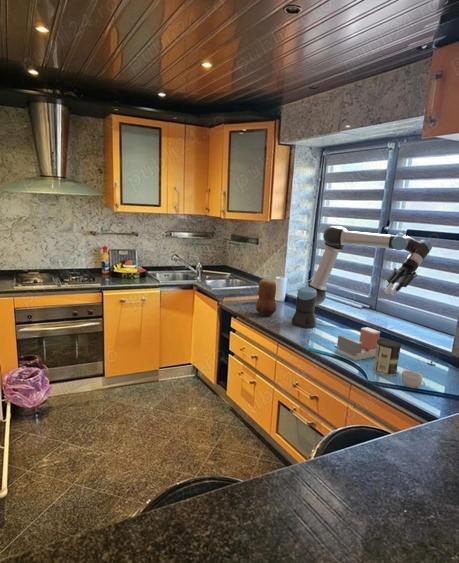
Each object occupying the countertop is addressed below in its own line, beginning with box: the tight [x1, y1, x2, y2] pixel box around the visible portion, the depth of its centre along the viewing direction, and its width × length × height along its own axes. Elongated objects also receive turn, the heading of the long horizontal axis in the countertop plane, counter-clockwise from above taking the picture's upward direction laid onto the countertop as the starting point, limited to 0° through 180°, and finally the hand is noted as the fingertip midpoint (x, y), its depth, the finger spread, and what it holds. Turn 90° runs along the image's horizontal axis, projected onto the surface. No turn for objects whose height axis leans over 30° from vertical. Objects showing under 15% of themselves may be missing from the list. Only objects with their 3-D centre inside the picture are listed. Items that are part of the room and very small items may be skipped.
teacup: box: [401, 369, 426, 389], centre depth 160 cm, size 10×8×5 cm
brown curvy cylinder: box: [255, 278, 277, 317], centre depth 255 cm, size 14×13×25 cm
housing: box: [336, 334, 376, 361], centre depth 197 cm, size 22×13×8 cm, turn 121°
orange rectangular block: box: [358, 326, 381, 350], centre depth 199 cm, size 5×8×10 cm, turn 31°
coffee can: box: [372, 338, 402, 377], centre depth 173 cm, size 10×10×14 cm
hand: (388, 293), depth 203 cm, fingers open, 3 cm apart
